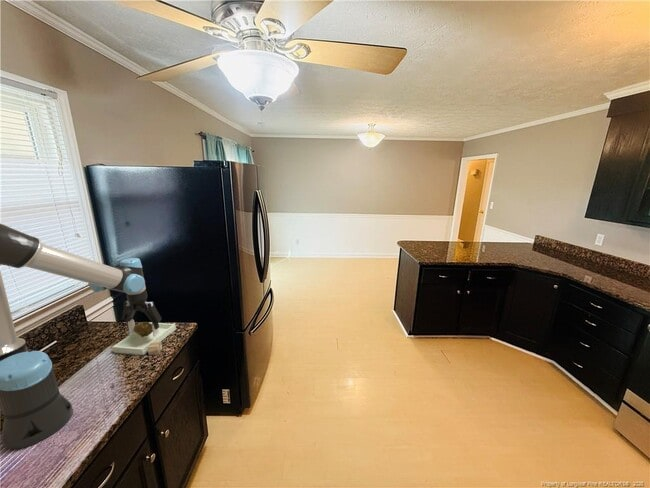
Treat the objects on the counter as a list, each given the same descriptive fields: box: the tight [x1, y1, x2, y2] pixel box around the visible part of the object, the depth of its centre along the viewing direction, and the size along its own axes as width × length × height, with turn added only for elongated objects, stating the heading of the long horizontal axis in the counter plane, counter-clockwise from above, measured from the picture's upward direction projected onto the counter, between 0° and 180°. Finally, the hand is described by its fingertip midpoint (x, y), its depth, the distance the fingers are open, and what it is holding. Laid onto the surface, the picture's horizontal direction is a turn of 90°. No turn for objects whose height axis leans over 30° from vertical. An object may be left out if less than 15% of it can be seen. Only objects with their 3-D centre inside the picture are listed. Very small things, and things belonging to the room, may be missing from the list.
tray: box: [111, 321, 177, 356], centre depth 126 cm, size 21×15×3 cm
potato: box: [134, 321, 153, 337], centre depth 124 cm, size 8×13×8 cm, turn 27°
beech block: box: [147, 341, 163, 356], centre depth 117 cm, size 4×4×4 cm
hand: (144, 333), depth 125 cm, fingers closed on potato, 12 cm apart
